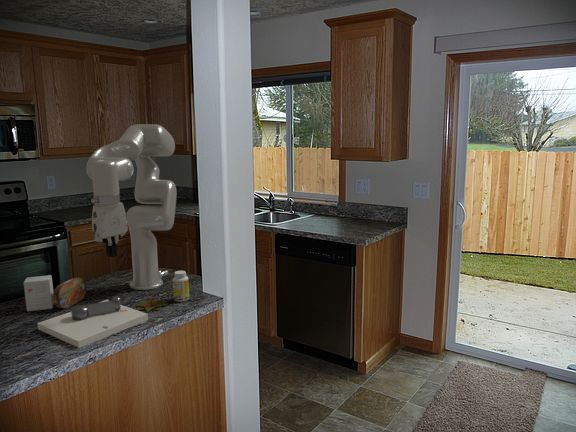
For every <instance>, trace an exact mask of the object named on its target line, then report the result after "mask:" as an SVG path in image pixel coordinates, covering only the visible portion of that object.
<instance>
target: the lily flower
mask: <svg viewBox="0 0 576 432" xmlns="http://www.w3.org/2000/svg"><path fill="white" fill-rule="evenodd" d="M146 297H147V298H145V297H144V298H143V299H144V300H141V301H140V303H138V304H136V305H135V307H137V308H136V309H135V310H137V311H141V310H146V312H147V313H149V312H150V311H152V310H158V311H162V310H163V307H162V306H167V307H168V304H167V303H166V302H167V300H158V298H156V297H158V295H157V293H155V295H153V296H152V295H151V296H150V295H149V294H148V295H146Z"/></svg>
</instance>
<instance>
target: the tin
mask: <svg viewBox="0 0 576 432" xmlns="http://www.w3.org/2000/svg"><path fill="white" fill-rule="evenodd" d="M53 292H54V293H53V299H54V305H55V306H56V307H57V308H60V309H69V308H70V307H73V305H74V306H75V304H77V303H78V302H81V301H82V300H83V299H84V298H85V296H86V294H87V284H86V281H85V279H84V278H83V277H73V278H69V279H68V280H67V281H64V282H62V283H60V284H59V285H58V284H57V286H55V288H54V289H53Z"/></svg>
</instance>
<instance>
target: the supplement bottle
mask: <svg viewBox="0 0 576 432" xmlns="http://www.w3.org/2000/svg"><path fill="white" fill-rule="evenodd" d="M172 291H173V295H172V296H173V300H174V301H175V302H186V301H188V300H189V298H190V285H189V277H188V275H187V273H186V271H185V270H177V271H175V272H174V276H173V277H172Z"/></svg>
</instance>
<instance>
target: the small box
mask: <svg viewBox="0 0 576 432" xmlns="http://www.w3.org/2000/svg"><path fill="white" fill-rule="evenodd" d="M52 277H53V276H52V275H51V274H47V275H40V276H39V275H38V276H29V277H26V278H25V280H24V281H23V289H24V297H25V299H24V300H25V306H26V307H25V308H26V311H27V312H34V311H42V310H52V309H53V308H54V305H55V304H54V299H53V293H54V285H53V278H52Z"/></svg>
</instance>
